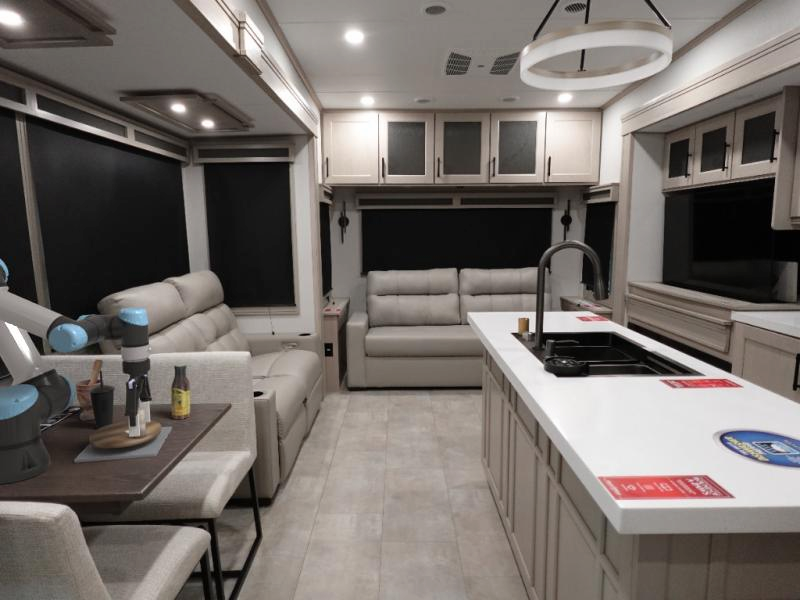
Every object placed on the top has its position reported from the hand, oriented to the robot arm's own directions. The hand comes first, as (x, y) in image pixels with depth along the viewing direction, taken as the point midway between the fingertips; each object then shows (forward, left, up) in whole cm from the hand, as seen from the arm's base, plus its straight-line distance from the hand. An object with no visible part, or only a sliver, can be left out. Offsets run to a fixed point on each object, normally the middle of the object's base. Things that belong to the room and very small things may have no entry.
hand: (140, 428), depth 154 cm
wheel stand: (-6, +6, -7) cm, 11 cm away
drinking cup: (-18, +23, -7) cm, 30 cm away
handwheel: (-6, +6, -6) cm, 10 cm away
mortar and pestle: (-26, +36, -7) cm, 45 cm away
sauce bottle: (+6, +28, -7) cm, 29 cm away
